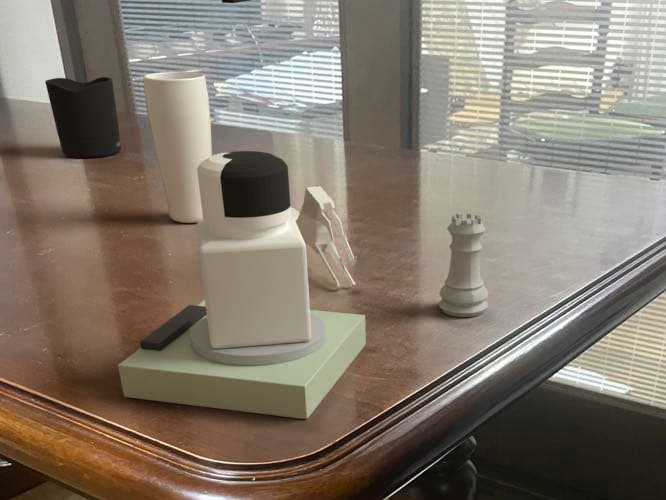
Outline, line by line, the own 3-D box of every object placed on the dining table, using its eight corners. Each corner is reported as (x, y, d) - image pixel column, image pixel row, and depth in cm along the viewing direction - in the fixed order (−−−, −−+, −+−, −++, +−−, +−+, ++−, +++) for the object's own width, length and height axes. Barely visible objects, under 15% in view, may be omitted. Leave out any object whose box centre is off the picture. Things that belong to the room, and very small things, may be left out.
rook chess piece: (496, 315, 77) (502, 221, 72) (449, 321, 75) (452, 225, 71) (476, 298, 80) (480, 208, 76) (430, 304, 79) (432, 212, 74)
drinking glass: (152, 217, 103) (130, 75, 95) (202, 208, 107) (185, 69, 99) (182, 229, 99) (161, 81, 91) (233, 218, 103) (217, 75, 94)
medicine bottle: (300, 308, 68) (289, 143, 62) (312, 342, 63) (301, 164, 56) (208, 315, 67) (186, 147, 60) (211, 350, 62) (187, 169, 55)
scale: (123, 397, 63) (115, 354, 61) (207, 328, 74) (202, 289, 72) (307, 419, 60) (304, 375, 58) (366, 344, 71) (365, 305, 69)
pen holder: (89, 162, 129) (75, 86, 123) (47, 155, 133) (31, 81, 128) (137, 151, 136) (125, 78, 130) (95, 144, 140) (82, 74, 134)
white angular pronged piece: (347, 340, 88) (291, 228, 96) (361, 247, 79) (296, 132, 87) (330, 343, 87) (274, 230, 96) (342, 249, 78) (279, 133, 86)
